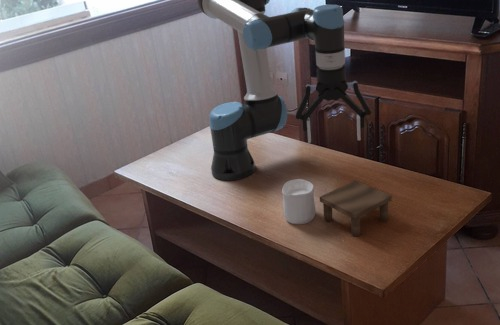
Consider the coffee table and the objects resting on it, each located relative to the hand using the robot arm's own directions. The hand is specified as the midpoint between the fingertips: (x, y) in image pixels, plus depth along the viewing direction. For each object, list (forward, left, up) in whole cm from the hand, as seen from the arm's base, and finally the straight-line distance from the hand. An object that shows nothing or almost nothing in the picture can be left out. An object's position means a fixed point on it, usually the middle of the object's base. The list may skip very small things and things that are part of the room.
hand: (334, 139), depth 166 cm
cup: (-5, -10, -23) cm, 25 cm away
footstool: (+8, 0, -22) cm, 24 cm away
